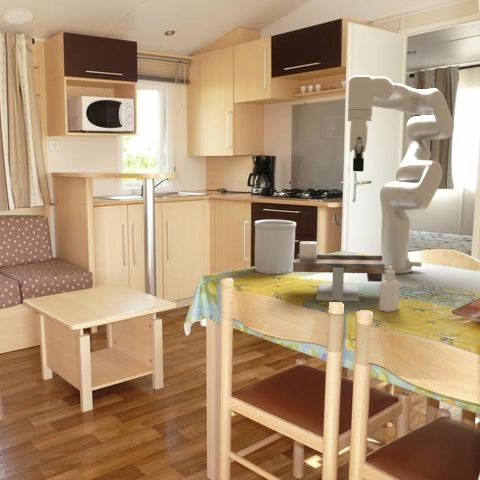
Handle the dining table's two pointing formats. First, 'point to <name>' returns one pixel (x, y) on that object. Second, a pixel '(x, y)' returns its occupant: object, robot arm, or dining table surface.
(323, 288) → the fulcrum
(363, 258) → the beam
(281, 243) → the utensil holder
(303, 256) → the rider
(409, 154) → the robot arm
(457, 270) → the dining table surface
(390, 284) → the eye dropper bottle
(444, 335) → the dining table surface
